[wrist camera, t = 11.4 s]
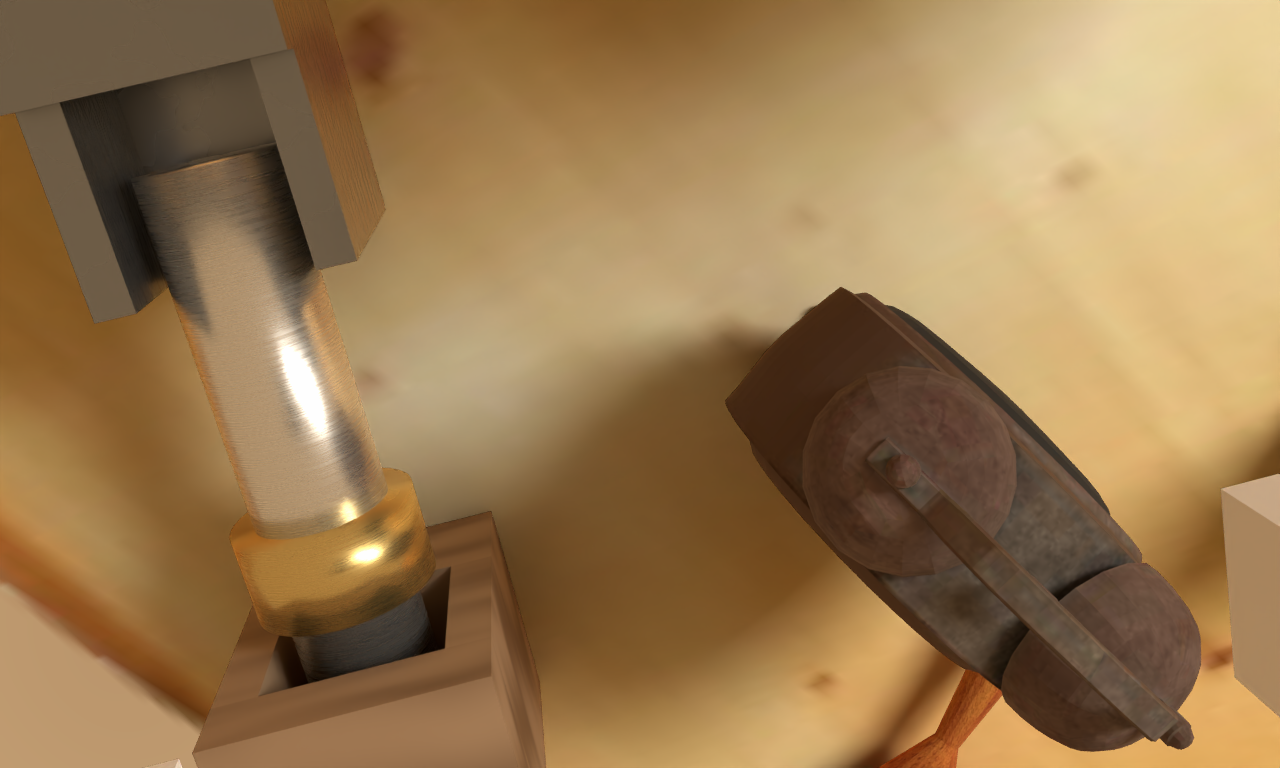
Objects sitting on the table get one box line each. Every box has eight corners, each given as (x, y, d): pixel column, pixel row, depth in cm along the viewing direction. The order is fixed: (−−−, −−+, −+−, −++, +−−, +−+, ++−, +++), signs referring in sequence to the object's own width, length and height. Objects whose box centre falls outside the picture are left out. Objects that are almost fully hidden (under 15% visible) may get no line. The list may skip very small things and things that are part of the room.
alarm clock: (1041, 454, 50) (1382, 722, 31) (916, 575, 51) (1171, 907, 32) (806, 216, 46) (1031, 355, 27) (673, 351, 47) (799, 580, 28)
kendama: (1173, 593, 48) (913, 992, 50) (1077, 531, 53) (846, 895, 56) (1076, 540, 46) (807, 963, 48) (985, 481, 51) (747, 864, 53)
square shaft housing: (69, -58, 40) (-77, -86, 30) (293, -109, 40) (226, -153, 30) (179, 258, 43) (82, 332, 33) (385, 209, 44) (353, 267, 33)
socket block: (268, 567, 47) (192, 753, 35) (491, 511, 48) (491, 676, 36) (327, 737, 50) (276, 965, 38) (539, 682, 50) (555, 890, 38)
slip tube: (135, 171, 38) (73, 198, 33) (319, 128, 39) (290, 147, 33) (313, 677, 44) (287, 775, 38) (472, 637, 44) (469, 728, 39)
